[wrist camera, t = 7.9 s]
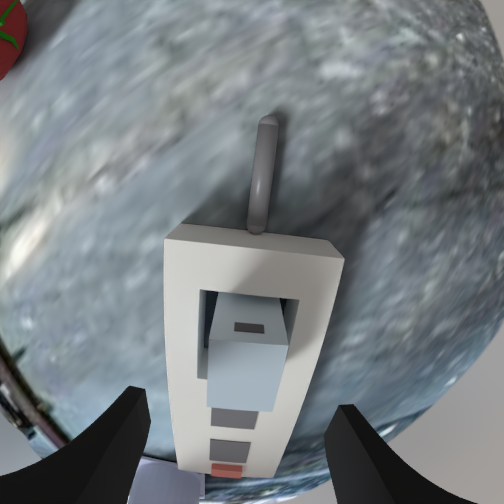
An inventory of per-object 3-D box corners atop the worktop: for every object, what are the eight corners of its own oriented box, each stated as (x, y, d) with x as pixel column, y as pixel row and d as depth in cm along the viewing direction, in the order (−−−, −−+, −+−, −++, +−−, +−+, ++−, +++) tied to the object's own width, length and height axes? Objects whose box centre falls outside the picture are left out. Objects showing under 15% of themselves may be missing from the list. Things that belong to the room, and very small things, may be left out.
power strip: (271, 451, 22) (273, 483, 18) (183, 443, 21) (177, 474, 18) (345, 130, 14) (372, 124, 10) (190, 110, 13) (172, 96, 10)
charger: (266, 339, 17) (272, 411, 12) (217, 334, 17) (206, 406, 12) (276, 280, 16) (288, 344, 10) (222, 274, 16) (209, 337, 10)
